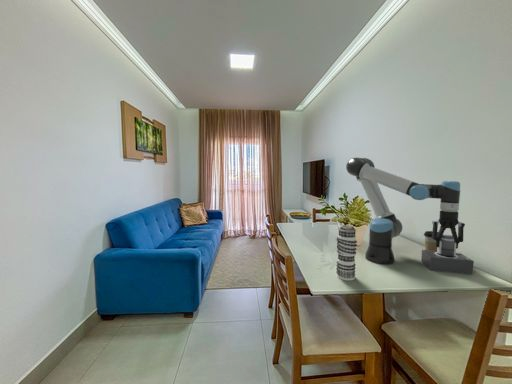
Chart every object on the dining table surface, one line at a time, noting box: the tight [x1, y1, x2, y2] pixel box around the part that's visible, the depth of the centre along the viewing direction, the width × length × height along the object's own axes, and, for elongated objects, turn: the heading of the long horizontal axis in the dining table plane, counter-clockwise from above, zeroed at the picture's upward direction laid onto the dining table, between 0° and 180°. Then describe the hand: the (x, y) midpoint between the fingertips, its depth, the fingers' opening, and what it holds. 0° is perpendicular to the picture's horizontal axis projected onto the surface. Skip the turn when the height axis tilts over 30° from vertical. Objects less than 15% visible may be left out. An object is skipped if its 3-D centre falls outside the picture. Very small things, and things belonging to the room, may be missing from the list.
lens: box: [440, 234, 454, 256], centre depth 122 cm, size 6×6×10 cm
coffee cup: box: [423, 230, 439, 251], centre depth 138 cm, size 10×10×15 cm
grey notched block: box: [420, 249, 475, 275], centre depth 123 cm, size 18×12×8 cm, turn 72°
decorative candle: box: [335, 224, 358, 282], centre depth 112 cm, size 9×9×25 cm
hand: (446, 253), depth 123 cm, fingers closed on lens, 6 cm apart
